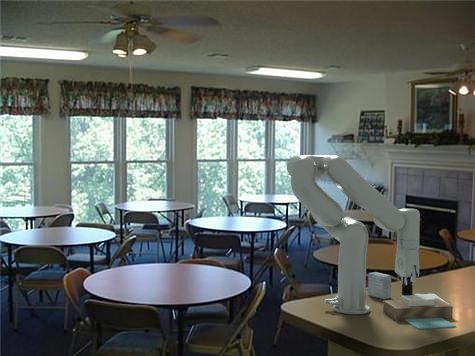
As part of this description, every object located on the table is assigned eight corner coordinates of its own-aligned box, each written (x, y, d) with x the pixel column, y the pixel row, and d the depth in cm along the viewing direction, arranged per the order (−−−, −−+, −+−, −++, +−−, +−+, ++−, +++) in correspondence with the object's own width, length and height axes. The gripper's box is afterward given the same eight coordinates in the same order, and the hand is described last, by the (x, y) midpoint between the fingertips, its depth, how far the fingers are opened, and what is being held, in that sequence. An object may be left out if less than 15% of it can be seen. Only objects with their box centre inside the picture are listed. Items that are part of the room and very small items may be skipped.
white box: (408, 306, 188) (409, 300, 188) (401, 301, 194) (401, 295, 194) (434, 305, 190) (434, 299, 190) (425, 300, 196) (425, 294, 196)
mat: (417, 329, 177) (417, 327, 177) (404, 320, 186) (404, 319, 186) (456, 327, 179) (456, 325, 179) (441, 318, 188) (441, 317, 188)
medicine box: (391, 298, 214) (391, 275, 214) (383, 299, 212) (383, 276, 211) (375, 293, 221) (375, 271, 220) (367, 295, 218) (367, 273, 218)
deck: (395, 320, 186) (395, 308, 185) (383, 312, 196) (383, 300, 195) (452, 318, 189) (452, 306, 189) (437, 309, 199) (437, 298, 198)
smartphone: (452, 309, 201) (434, 297, 217) (452, 305, 201) (434, 293, 217) (428, 310, 201) (411, 297, 217) (428, 305, 201) (411, 293, 216)
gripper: (388, 240, 206) (388, 290, 206) (407, 247, 191) (406, 301, 192) (408, 240, 207) (407, 290, 208) (428, 247, 192) (427, 300, 193)
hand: (407, 295), depth 200 cm, fingers closed
